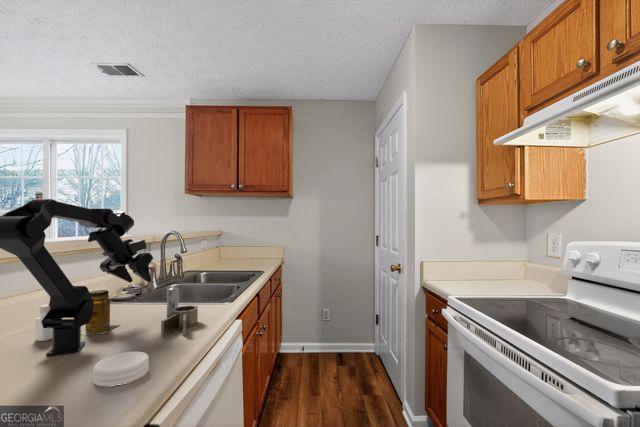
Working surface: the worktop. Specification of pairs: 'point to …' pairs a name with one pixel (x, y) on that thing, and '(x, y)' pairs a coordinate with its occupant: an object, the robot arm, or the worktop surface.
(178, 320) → the hinge
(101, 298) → the condiment
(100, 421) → the worktop surface
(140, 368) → the coaster
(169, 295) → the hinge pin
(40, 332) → the pepper shaker
